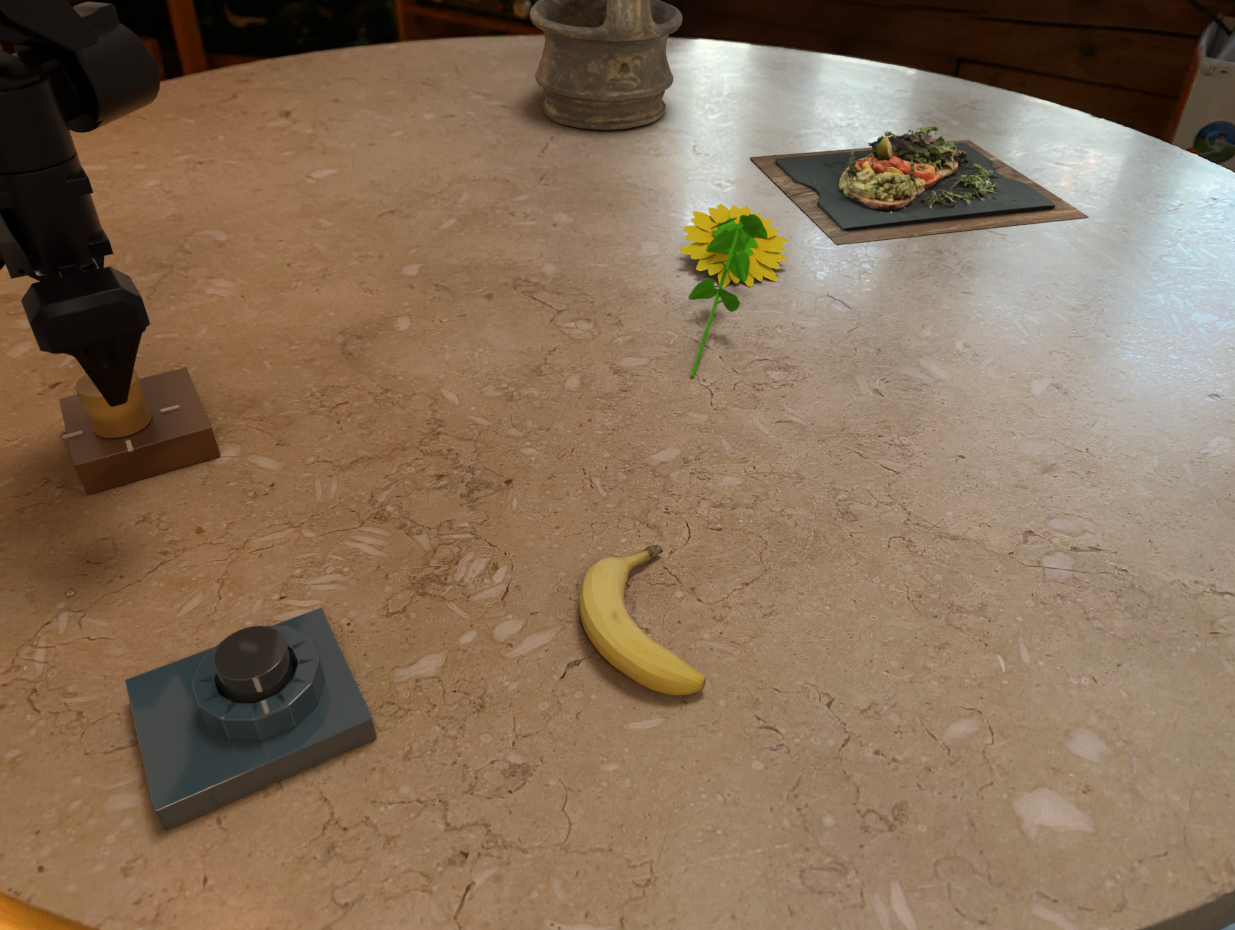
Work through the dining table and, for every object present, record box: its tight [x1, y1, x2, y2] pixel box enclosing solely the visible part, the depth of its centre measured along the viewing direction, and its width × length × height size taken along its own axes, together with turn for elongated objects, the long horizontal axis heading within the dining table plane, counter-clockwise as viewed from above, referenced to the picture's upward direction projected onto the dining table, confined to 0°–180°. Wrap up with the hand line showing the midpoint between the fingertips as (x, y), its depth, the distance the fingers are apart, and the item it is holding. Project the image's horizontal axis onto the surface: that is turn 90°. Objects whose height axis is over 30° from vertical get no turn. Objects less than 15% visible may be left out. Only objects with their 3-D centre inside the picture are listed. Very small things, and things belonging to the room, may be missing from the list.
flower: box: [678, 203, 789, 379], centre depth 96 cm, size 12×9×30 cm
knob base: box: [124, 607, 378, 831], centre depth 56 cm, size 12×10×4 cm
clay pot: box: [529, 0, 683, 131], centre depth 134 cm, size 22×23×30 cm
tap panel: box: [58, 366, 221, 496], centre depth 76 cm, size 10×10×3 cm
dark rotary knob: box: [213, 625, 293, 703], centre depth 54 cm, size 4×4×2 cm
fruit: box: [579, 544, 707, 696], centre depth 62 cm, size 7×13×3 cm, turn 14°
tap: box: [74, 369, 152, 438], centre depth 73 cm, size 4×4×4 cm
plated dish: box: [749, 125, 1089, 245], centre depth 121 cm, size 35×28×7 cm
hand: (104, 373), depth 67 cm, fingers open, 9 cm apart
